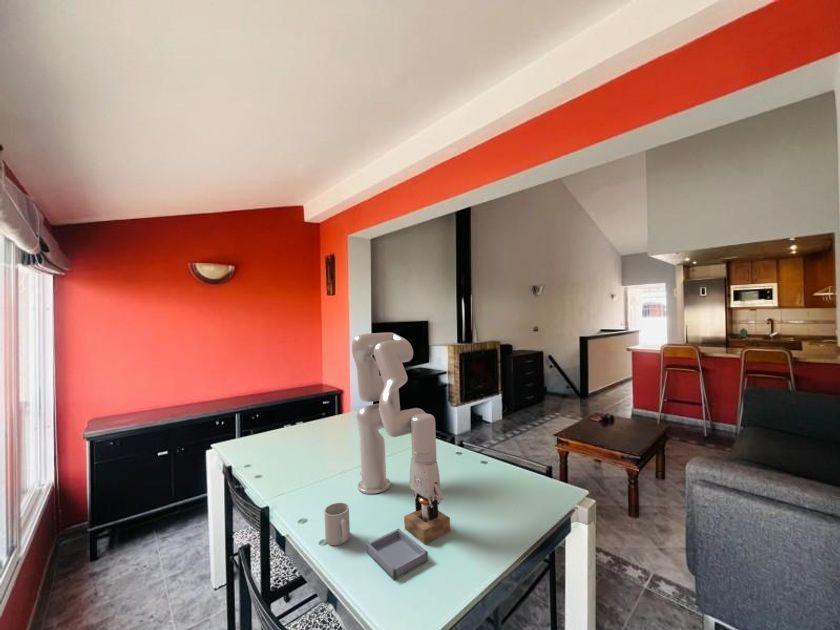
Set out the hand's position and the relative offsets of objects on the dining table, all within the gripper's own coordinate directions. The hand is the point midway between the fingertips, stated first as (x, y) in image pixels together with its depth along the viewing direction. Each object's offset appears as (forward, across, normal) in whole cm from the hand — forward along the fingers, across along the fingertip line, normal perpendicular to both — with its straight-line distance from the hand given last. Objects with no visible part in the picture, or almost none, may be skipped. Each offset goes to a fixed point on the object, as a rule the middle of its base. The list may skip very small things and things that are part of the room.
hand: (426, 513), depth 110 cm
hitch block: (+5, 0, 0) cm, 5 cm away
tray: (+5, +4, -14) cm, 15 cm away
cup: (+5, -13, -23) cm, 27 cm away
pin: (+5, 0, 0) cm, 5 cm away
